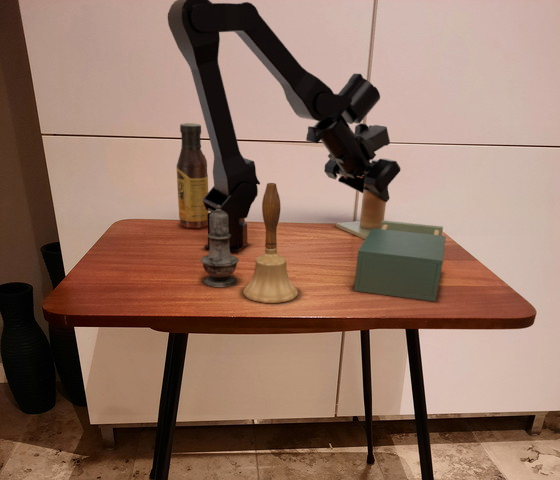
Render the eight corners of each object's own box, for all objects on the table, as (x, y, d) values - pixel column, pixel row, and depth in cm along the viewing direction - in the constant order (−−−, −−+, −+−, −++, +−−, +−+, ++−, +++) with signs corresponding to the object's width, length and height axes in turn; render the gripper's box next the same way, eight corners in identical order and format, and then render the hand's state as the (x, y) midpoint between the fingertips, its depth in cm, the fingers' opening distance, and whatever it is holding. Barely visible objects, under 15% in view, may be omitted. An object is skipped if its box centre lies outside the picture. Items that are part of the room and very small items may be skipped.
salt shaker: (233, 289, 83) (232, 209, 78) (196, 285, 84) (193, 206, 79) (242, 277, 88) (242, 201, 83) (208, 273, 89) (205, 198, 84)
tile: (365, 239, 111) (366, 235, 111) (335, 226, 119) (336, 223, 119) (407, 234, 116) (408, 230, 115) (376, 222, 124) (376, 219, 124)
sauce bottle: (180, 222, 118) (174, 121, 109) (209, 222, 119) (206, 122, 109) (178, 230, 113) (172, 124, 103) (209, 230, 113) (206, 125, 104)
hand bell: (242, 302, 79) (241, 188, 71) (244, 283, 86) (244, 177, 78) (299, 304, 79) (305, 190, 71) (296, 284, 86) (301, 179, 79)
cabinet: (367, 264, 97) (371, 228, 94) (439, 272, 94) (445, 235, 91) (353, 290, 85) (358, 250, 82) (435, 301, 82) (443, 260, 79)
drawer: (381, 239, 108) (384, 215, 106) (439, 246, 106) (443, 221, 103) (368, 265, 94) (372, 237, 91) (435, 273, 91) (440, 245, 89)
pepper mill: (366, 230, 114) (374, 162, 108) (355, 224, 118) (362, 159, 112) (387, 229, 116) (396, 162, 110) (375, 223, 120) (383, 158, 114)
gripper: (399, 113, 97) (435, 175, 108) (341, 106, 112) (377, 161, 122) (359, 162, 98) (398, 219, 108) (305, 148, 112) (345, 200, 122)
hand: (379, 197), depth 115 cm, fingers closed on pepper mill, 5 cm apart
